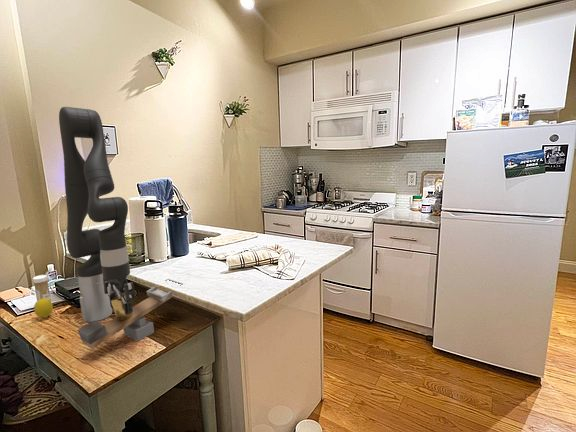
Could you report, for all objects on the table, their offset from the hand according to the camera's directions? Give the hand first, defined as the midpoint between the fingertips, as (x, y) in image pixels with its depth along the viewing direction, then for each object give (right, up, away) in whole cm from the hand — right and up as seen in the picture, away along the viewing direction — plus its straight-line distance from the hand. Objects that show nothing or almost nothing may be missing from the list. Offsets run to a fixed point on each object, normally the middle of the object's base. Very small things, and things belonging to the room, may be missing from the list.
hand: (121, 310), depth 99 cm
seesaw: (+3, -3, +5) cm, 6 cm away
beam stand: (+3, -10, +6) cm, 12 cm away
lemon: (-38, -9, +18) cm, 43 cm away
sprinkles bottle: (-45, -7, +26) cm, 52 cm away
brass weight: (0, -3, +1) cm, 3 cm away
